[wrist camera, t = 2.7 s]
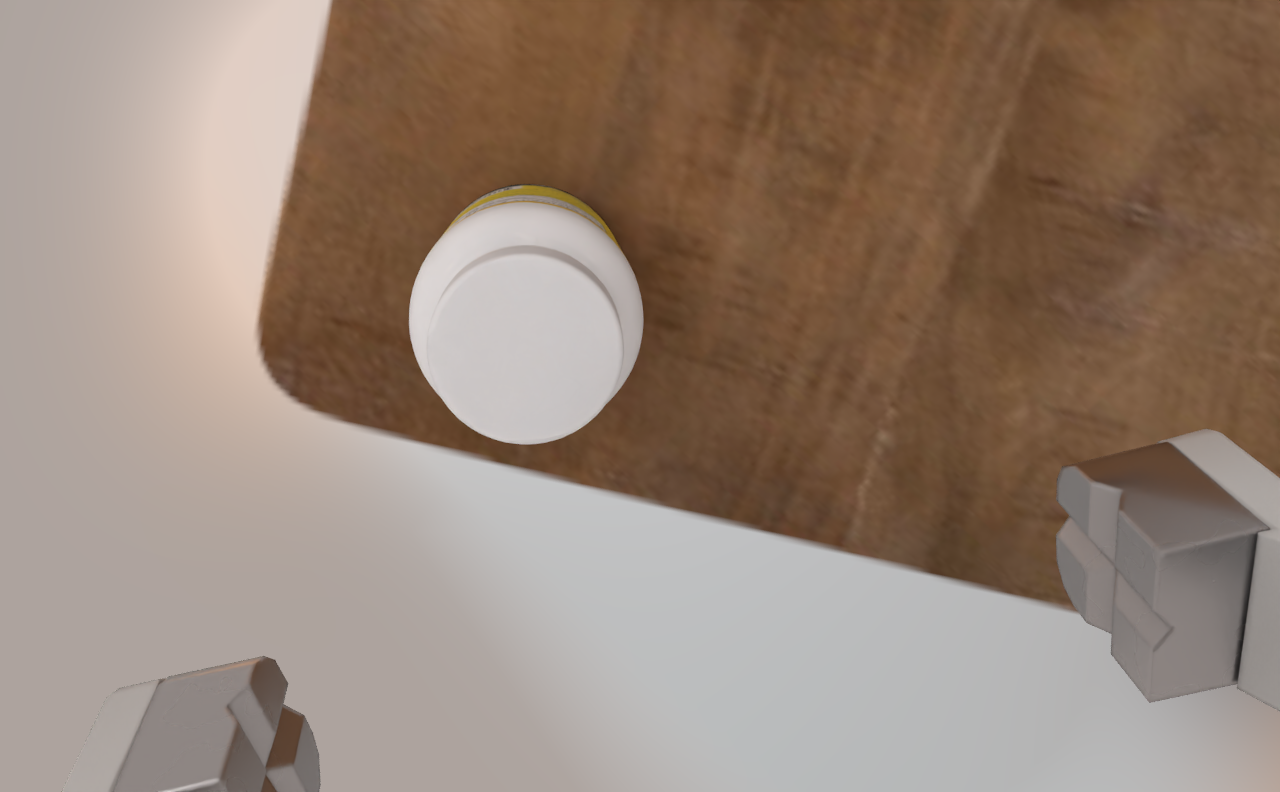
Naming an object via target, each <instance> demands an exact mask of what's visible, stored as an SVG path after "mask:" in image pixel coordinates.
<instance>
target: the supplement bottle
mask: <svg viewBox="0 0 1280 792" xmlns="http://www.w3.org/2000/svg"><path fill="white" fill-rule="evenodd" d="M409 330H410V338H411V342H412V346H413V350H414V354H415V356H416V359H417V361H418V364H419V366H420V368H421V370H422V372H423V374H424V376H425V378H426V379H427V381H428V382H429V384H430V385H431V386H432V388H433V389H434V390H435V391H436V393H437V394H438V395H439V396H440V397H441V398H442V400H443V401H444V403H445V404H446V405H447V407H448V408H449V409H450V410H451V411H452V412H453V414H454V415H455V416H456V417H457V418H458V419H460V420H461V421H462V422H463V423H464V424H466V425H467V426H469V427H470V428H472V429H473V430H475V431H477V432H478V433H480V434H483V435H485V436H487V437H490V438H492V439H495V440H498V441H502V442H507V443H514V444H538V443H546V442H549V441H554V440H557V439H560V438H563V437H565V436H567V435H569V434H572V433H574V432H575V431H577V430H579V429H580V428H582V427H583V426H585V425H586V424H587V423H589V422H590V421H591V420H592V419H593V418H594V417H595V416H597V414H598V413H599V412H600V411H601V410H602V409H603V407H604V406H605V404H606V403H608V402H609V401H610V400H611V399H612V398H613V397H614V395H615V394H616V393H617V392H618V391H619V389H620V388H621V387H622V385H623V384H624V382H625V381H626V379H627V378H628V376H629V374H630V372H631V370H632V368H633V366H634V364H635V361H636V359H637V356H638V353H639V349H640V345H641V340H642V333H643V306H642V299H641V294H640V290H639V286H638V283H637V280H636V277H635V274H634V272H633V270H632V268H631V266H630V264H629V262H628V260H627V259H626V257H625V255H624V253H623V252H622V250H621V248H620V246H619V245H618V243H617V241H616V240H615V238H614V236H613V234H612V232H611V231H610V229H609V228H608V226H607V225H606V224H605V223H604V221H603V220H602V219H601V218H600V217H599V215H598V214H597V213H596V212H595V211H594V210H593V209H591V208H590V207H589V206H588V205H587V204H585V203H584V202H582V201H581V200H579V199H578V198H576V197H574V196H573V195H571V194H569V193H567V192H565V191H562V190H559V189H556V188H552V187H548V186H542V185H534V184H520V185H511V186H507V187H503V188H500V189H497V190H494V191H491V192H489V193H487V194H485V195H483V196H481V197H480V198H478V199H477V200H475V201H474V202H472V203H471V204H470V205H469V206H467V207H466V208H465V209H464V210H463V211H462V212H461V213H460V214H459V215H458V216H457V217H456V218H455V220H454V221H453V222H452V223H451V225H450V226H449V227H448V229H447V230H446V231H445V232H444V234H443V235H442V237H441V238H440V239H439V240H438V242H437V243H436V244H435V245H434V247H433V248H432V249H431V251H430V252H429V254H428V255H427V257H426V259H425V260H424V262H423V264H422V265H421V268H420V271H419V273H418V275H417V278H416V280H415V284H414V287H413V290H412V295H411V300H410V308H409Z"/></svg>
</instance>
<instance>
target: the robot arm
mask: <svg viewBox="0 0 1280 792" xmlns="http://www.w3.org/2000/svg"><path fill="white" fill-rule="evenodd" d="M1056 500H1057V501H1058V502H1059V504H1060V505H1061V506H1062V507H1063V508H1064V509H1065V511H1066V512H1067V513H1068V514H1069V515H1070V516H1069V517H1068V519H1067V520H1066V522H1065V523H1064V525H1063V526H1062V527H1061V529H1060V530H1059V532H1058V533H1057V535H1056V550H1057V564H1058V567H1059V571H1060V574H1061V578H1062V581H1063V585H1064V588H1065V590H1066V592H1067V594H1068V595H1069V597H1070V599H1071V601H1072V603H1073V605H1074V607H1075V608H1076V609H1077V611H1078V612H1079V613H1080V615H1081V616H1082V617H1083V619H1084V620H1085V621H1086V622H1087V623H1088V624H1090V625H1093V626H1095V627H1097V628H1100V629H1102V630H1104V631H1106V632H1109V633H1111V634H1112V641H1111V655H1112V656H1113V657H1114V658H1115V660H1116V661H1117V662H1118V664H1119V665H1120V666H1121V667H1122V669H1123V670H1124V671H1125V672H1126V674H1127V675H1128V676H1129V677H1130V679H1131V680H1132V681H1133V682H1134V684H1135V685H1136V686H1137V688H1138V689H1139V690H1140V691H1141V692H1142V694H1143V695H1144V696H1145V698H1146V699H1147V700H1148V701H1149V703H1151V702H1155V701H1160V700H1165V699H1169V698H1174V697H1179V696H1183V695H1188V694H1193V693H1197V692H1202V691H1206V690H1211V689H1216V688H1221V687H1225V686H1230V685H1235V684H1237V688H1238V689H1239V690H1241V691H1243V692H1245V693H1247V694H1249V695H1250V696H1252V697H1254V698H1256V699H1258V700H1260V701H1262V702H1263V703H1265V704H1267V705H1269V706H1271V707H1273V708H1274V709H1277V710H1278V711H1280V478H1279V477H1277V476H1276V475H1275V474H1274V473H1272V472H1271V471H1270V470H1268V469H1267V468H1266V467H1265V466H1263V465H1262V464H1261V463H1259V462H1258V461H1257V460H1256V459H1254V458H1253V457H1252V456H1250V455H1249V454H1248V453H1246V452H1245V451H1244V450H1243V449H1241V448H1240V447H1239V446H1237V445H1236V444H1235V443H1234V442H1232V441H1231V440H1230V439H1228V438H1227V437H1226V436H1225V435H1223V434H1222V433H1220V432H1217V431H1214V430H1210V429H1204V430H1200V431H1196V432H1192V433H1188V434H1185V435H1181V436H1177V437H1173V438H1169V439H1166V440H1162V441H1159V442H1158V443H1157V444H1152V445H1148V446H1144V447H1140V448H1136V449H1132V450H1128V451H1123V452H1119V453H1115V454H1111V455H1107V456H1103V457H1099V458H1095V459H1091V460H1087V461H1082V462H1078V463H1074V464H1070V465H1066V466H1062V468H1061V470H1060V473H1059V476H1058V478H1057V499H1056ZM287 687H288V682H287V681H286V679H285V677H284V676H283V674H282V672H281V670H280V668H279V667H278V665H277V663H276V661H275V660H273V659H270V658H268V657H265V656H262V657H257V658H253V659H248V660H243V661H239V662H234V663H230V664H225V665H220V666H215V667H211V668H206V669H202V670H197V671H192V672H188V673H183V674H178V675H174V676H169V677H167V678H166V679H158V680H153V681H149V682H144V683H140V684H136V685H131V686H127V687H122V688H119V689H118V690H116V691H115V692H113V693H112V694H111V695H109V696H108V697H107V698H106V700H105V702H104V704H103V706H102V708H101V710H100V712H99V714H98V717H97V718H96V721H95V723H94V725H93V727H92V729H91V731H90V733H89V735H88V737H87V739H86V741H85V744H84V746H83V748H82V750H81V752H80V754H79V756H78V758H77V761H76V763H75V765H74V767H73V769H72V771H71V773H70V775H69V777H68V779H67V781H66V783H65V786H64V788H63V790H62V792H319V789H320V769H319V753H318V750H317V746H316V743H315V740H314V736H313V732H312V730H311V729H310V726H309V724H308V722H307V720H306V718H305V716H304V715H303V714H301V713H299V712H297V711H295V710H293V709H291V708H290V707H288V706H286V705H284V704H283V703H284V698H285V694H286V691H287Z"/></svg>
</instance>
